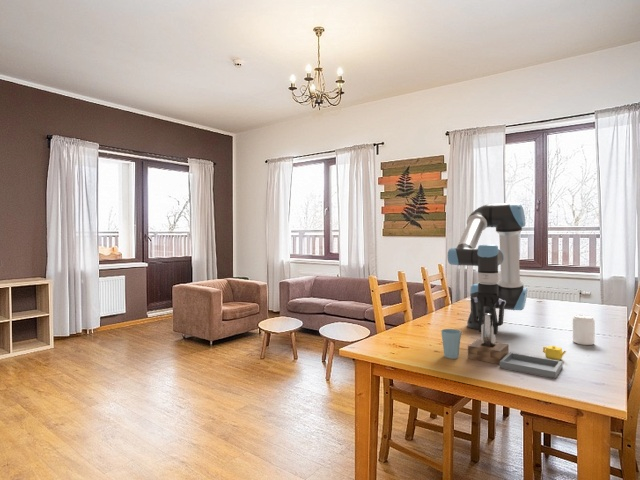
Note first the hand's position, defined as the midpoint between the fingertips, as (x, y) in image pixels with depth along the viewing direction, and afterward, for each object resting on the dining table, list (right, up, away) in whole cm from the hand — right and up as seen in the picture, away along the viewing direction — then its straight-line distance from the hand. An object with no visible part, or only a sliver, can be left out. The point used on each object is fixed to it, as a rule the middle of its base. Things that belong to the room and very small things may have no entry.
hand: (488, 341), depth 157 cm
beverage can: (+50, -6, +18) cm, 54 cm away
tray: (+10, -7, -12) cm, 18 cm away
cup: (-14, -7, +2) cm, 16 cm away
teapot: (+25, -6, -3) cm, 26 cm away
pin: (0, -3, 0) cm, 3 cm away
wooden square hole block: (0, -6, 0) cm, 6 cm away
